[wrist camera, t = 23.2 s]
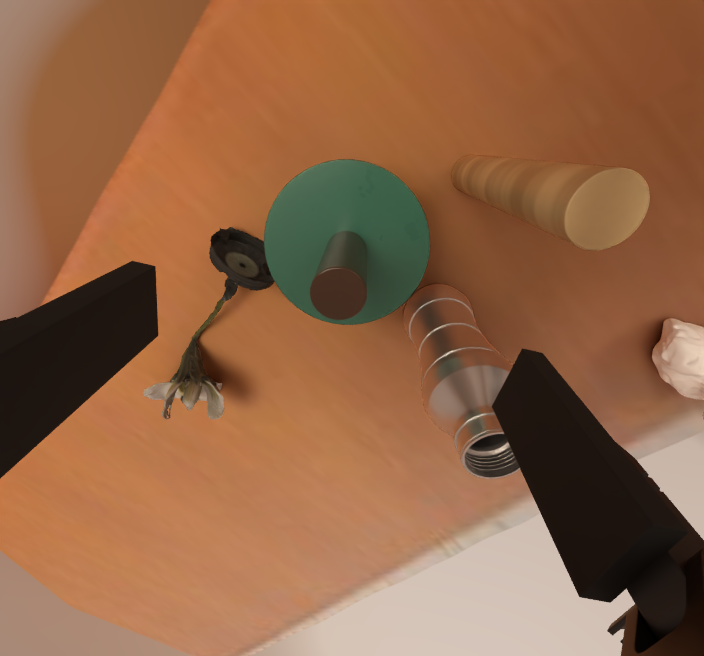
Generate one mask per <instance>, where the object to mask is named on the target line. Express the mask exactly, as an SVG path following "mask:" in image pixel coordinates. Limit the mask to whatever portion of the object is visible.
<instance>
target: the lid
mask: <svg viewBox="0 0 704 656" xmlns="http://www.w3.org/2000/svg"><path fill="white" fill-rule="evenodd" d="M264 248H265V256H266V260H267V264H268V267H269V270H270V272H271V275H272V277H273V279H274V281H275V283H276V284H277V286H278V287H279V289H280V290H281V292H282V293H283V294H284V295H285V296H286V297H287V298H288V300H289V301H290V302H292V303H293V304H294V305H295V306H296V307H297V308H299V309H300V310H302V311H303V312H305V313H307V314H308V315H310V316H312V317H314V318H317V319H320V320H322V321H326V322H330V323H334V324H342V325H354V324H363V323H367V322H371V321H374V320H377V319H380V318H382V317H384V316H386V315H388V314H390V313H391V312H393V311H395V310H396V309H398V308H399V307H400V306H401V305H402V304H403V303H405V302H406V301H407V300H408V298H409V297H410V296H411V295H412V294H413V293H414V291H415V290H416V288H417V287H418V285H419V283H420V281H421V280H422V278H423V275H424V273H425V270H426V267H427V263H428V259H429V252H430V234H429V228H428V223H427V220H426V217H425V213H424V211H423V209H422V207H421V205H420V203H419V201H418V200H417V198H416V197H415V195H414V194H413V192H412V191H411V190H410V189H409V188H408V187H407V185H406V184H405V183H404V182H402V181H401V180H400V179H399V178H398V177H397V176H395V175H394V174H392V173H391V172H389V171H388V170H386V169H384V168H382V167H380V166H377V165H375V164H372V163H369V162H365V161H360V160H353V159H340V160H333V161H327V162H324V163H321V164H317V165H315V166H313V167H311V168H309V169H306V170H305V171H303V172H302V173H300V174H299V175H297V176H296V177H294V178H293V179H292V180H291V181H290V182H289V183H288V184H287V185H286V186H285V187H284V188H283V189H282V191H281V192H280V193H279V195H278V196H277V198H276V199H275V201H274V203H273V205H272V207H271V209H270V212H269V215H268V218H267V221H266V226H265V233H264Z"/></svg>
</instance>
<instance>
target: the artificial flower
mask: <svg viewBox="0 0 704 656" xmlns="http://www.w3.org/2000/svg"><path fill="white" fill-rule="evenodd" d="M209 254H210V259H211V262H212V263H213V265H214V266H215V267H216V268H217V269H218V270H219V272H225V273H226V274H227V276H228V278H227V280H226V282H225V287H226V291H225V293H224V295H223V297H222V299H221V300H220V301H219V302H217V305H216V307H215V310H214V312H213V313H212V314H211V315H210V316H209V318H208V319H207V320H206V321H205V322H204V324H203V325H202V326H201V327H200V329H199V330H198V331H197V332H196V333H195V335H194V336H193V337H192V341H191V342H190V344H189V347H188V348H187V349H186V351H185V353H184V354H183V356H182V360H181V364H180V367H179V369H178V371H177V373H176V374H175V375H174V376H173V378H172V379H171V380H170V382H165V383H158V384H155V385H153V386H151V387H149V388H147V389H145V390H144V394H143V396H146V397H149V398H150V399H153V400H164V399H165V402H164V409H163V411H162V416H163V417H164V418H165V419H169V418H170V413H169V415H168V411H167V409H168V407H169V405H170V408H169V412H170V410H171V405H172V402H173V399H174V398H181V401H182V402H183V403H184V404H185V405H186V407H187V409H188V410H192V408H193V407H194V404H195V403H196V402H197V401H198V400H203V401H207V414H208V417H209V418H210V419H219V418H220V417H221V416H222V415H223V412H224V398H223V396H222V395H221V394H220V391H219V390H220V389H221V388H222V383H217V382H215V381H213V380H212V379H211V378H210V377H209V376H208V375H207V374H206V372H205V370H204V367H203V363H202V362H203V359H202V358H201V356H200V354H201V352H200V350H199V349H198V347H199V346H198V343H197V339H198V336H199V335H200V334H201V332H202V331H203V330H204V329H205V328H206V327H207V325H209V324H210V323H211V321H212V320H213V319H214V318H215V316H216V315H217V313H218V312H219V310H220V309H221V307H222V305H223V303H224V302H225V301H227V300H229V299H231V298H232V296H234V295H235V293H236V291H237V288H238V285H239V286H241V287H244V288H248V289H250V290H256V291H257V290H262V289H266V288H268V287H270V286H271V285H272V284H273V282H275V281H274V279H273V277H272V275H271V272H270V271H269V267H268V264H267V260H266V256H265V248H264V242H263V241H261V240H259V239H258V238H254V237H251V236H250V235H248V234H247V233H244V232H243V231H240V230H236V229H234V228H233V227H232V228H231V227H230V228H228V229H226V230H225V229H220V231H218V232H216V233H215V234H214V235H213V236H212V237H211V247H210V252H209ZM166 415H167V416H169V418H167V416H166Z"/></svg>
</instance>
